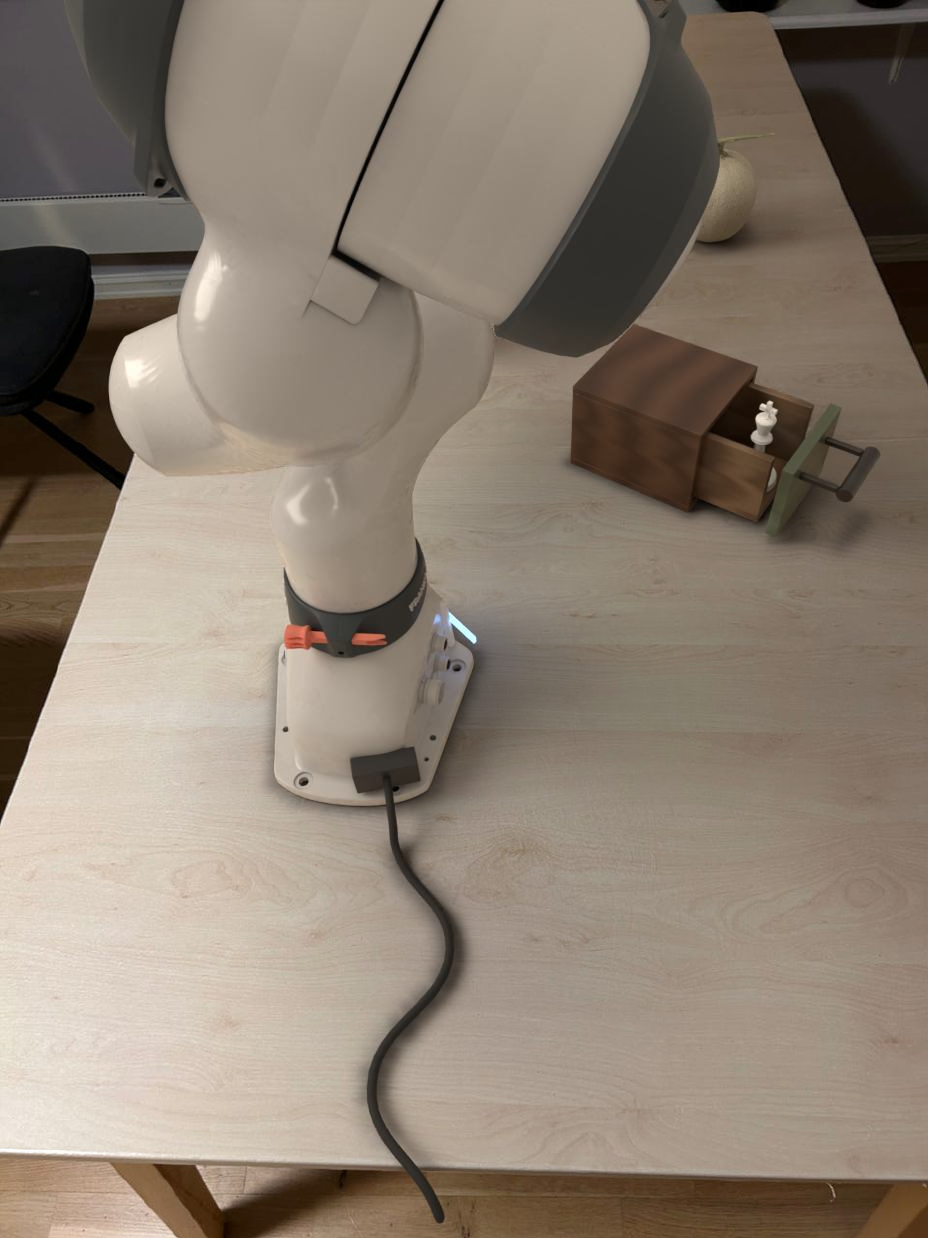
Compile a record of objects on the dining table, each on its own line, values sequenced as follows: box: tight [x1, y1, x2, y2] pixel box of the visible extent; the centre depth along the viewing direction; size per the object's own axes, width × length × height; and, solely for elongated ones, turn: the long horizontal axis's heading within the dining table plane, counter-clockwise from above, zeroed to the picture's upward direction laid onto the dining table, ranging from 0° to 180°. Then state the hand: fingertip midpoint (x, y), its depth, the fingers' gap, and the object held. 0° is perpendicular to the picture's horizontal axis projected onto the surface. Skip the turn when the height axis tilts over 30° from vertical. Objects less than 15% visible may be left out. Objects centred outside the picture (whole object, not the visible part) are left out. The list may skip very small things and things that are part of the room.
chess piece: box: [751, 401, 778, 492], centre depth 94 cm, size 5×5×10 cm
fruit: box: [695, 132, 776, 243], centre depth 125 cm, size 10×12×15 cm
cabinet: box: [570, 323, 759, 513], centre depth 100 cm, size 15×13×11 cm
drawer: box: [693, 382, 881, 539], centre depth 95 cm, size 19×11×9 cm, turn 54°
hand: (516, 204), depth 83 cm, fingers open, 8 cm apart
